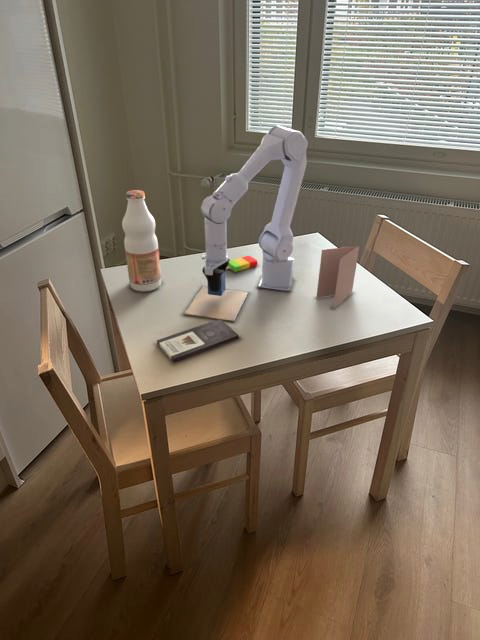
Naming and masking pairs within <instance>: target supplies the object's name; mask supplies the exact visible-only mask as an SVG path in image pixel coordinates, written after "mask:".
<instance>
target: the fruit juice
mask: <svg viewBox="0 0 480 640" xmlns="http://www.w3.org/2000/svg"><path fill="white" fill-rule="evenodd" d="M125 195H126V196H125V198H126V200H127V206H126V211H125V214H124V216H123V218H122V221H121V226H122V231H123V232H124V234H125V235H124V238H123V239H124V240H123V245H124V251H125V258H126V266H127V267H126V268H127V274H128V282H129V286H130V287H131V289H133V290H135V291H137V292H151V291H154V290H156V289H158V288H159V287H160V286H161V285H162V273H161V272H162V271H161V263H160V262H161V261H160V251H159V241H158V237H157V235H156V220H155V217H154V216H153V215H152V213H151V212H150V211H149V209H148V206H147V205H146V201H145V199H146V194H145V192H144V190H141V189H134V190H133V189H132V190H128V191H126V193H125Z"/></svg>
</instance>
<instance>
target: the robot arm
mask: <svg viewBox="0 0 480 640" xmlns="http://www.w3.org/2000/svg"><path fill="white" fill-rule="evenodd" d="M308 146H309V141H308V140H307V138H306V137H305V135H304V134H303V133H302V132H301V131H299V130H294V129H290V128H287V127H284V126H282V125H274V126H272V127H270V129H269V130H268V132H267V133H266V134H265V135H263V137H262V139H261V143H260V144H259V146H258V147H257V148H256V150H255V151H254V152H253V153H252V155H251V156H250V157H249V159H248V160H247V161H246V162H245V164H244V165H243V166H242V168H241V169H240V170H239V171H238V172H232V173H231V174H230V175H226V176H225V177H224V181H223V183H221V185H220V186H219V187H218V188H217V189H216V190H214V191H213V192H212V195H209V196H207V197H205V198H204V199H203V201H202V203H201V206H200V207H199V209H200V213H201V214H202V215H203V217H204V246H205V253H204V254H203V255H201V259H202V260H204V262H205V265H204V266H203V267H202V268H201V269H202V274H203V276H204V277H205V279H206V280H207V281H206V282H207V285H208V284H209V287H210V290H211V291H215V292H218V290H219V285H220V278H221V275H222V273H223V271H225V273H226V271H227V269H226V268H227V266H228V264H229V262H230V260H231V259H230V258H228V247H227V245H228V242H227V241H228V239H227V238H228V237H227V234H228V233H227V227H228V226H227V220H228V219H229V218H230V217H231V215H232V209H233V208H234V206H235V205H236V203H238V201H239V200H240V199H241V198H242V197H243V196H244V195H245V193H246V192H247V191H248V190H249V183H250V181H251V180H252V179H253V178H254V177H256V175H258V173H259V172H260V171H261V170H262V169H264V167H265V166H267V164H269V162H271V161H277V160H281V162H282V164H283V165H284V169H283V172H282V177H281V181H280V185H279V189H278V193H277V197H276V201H275V204H274V208H273V213H272V217H271V221H270V222H268V223H267V224H266V225H265V226H264V229H263V231H262V233H261V234H260V236H259V238H258V246H259V248H260V249H261V251H262V253H261V254H262V263H261V264H262V265H261V278H260V280H259V283H258V285H257V287H258V288H259V289H260V288H261V289H269V290H278V291H283V292H289V291H291V289H292V288H291V287H292V285H293V282H294V272H295V258H293V257H291V255H292V254H293V251H294V245H293V242H294V239H295V238H294V234H293V231H292V229H291V223H292V220H293V217H294V212H295V210H296V205H297V201H298V198H299V194H300V191H301V187H302V182H303V180H304V175H305V172H306V168H307V165H308V161H307V160H308V159H307V158H308V157H307V149H308Z"/></svg>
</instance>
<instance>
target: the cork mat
mask: <svg viewBox="0 0 480 640" xmlns="http://www.w3.org/2000/svg"><path fill="white" fill-rule="evenodd" d="M248 295H249V292H247V291H242V290H241V291H240V290H233V289H232V290H231V289H226V288H225V291H224V293H223V294H222V296H217V295H209V294H208V286H202V287H201V289H200V290H199V291H198V293H197V294H196V295H195V296H194V298H193V300H192V301H191V303H190V304H189V306H188V307H187V309H186V310H185V311H184V313H183V314H184V315H185V316H192V317H199V318H206V319H213V320H218V319H221V320H222V321H225V322H235V321H236V319H237V317H238V315H239V313H240V311H241V309H242V307H243V305H244V304H245V300H246V299H247V297H248ZM184 315H183V316H184Z"/></svg>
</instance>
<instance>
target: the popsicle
mask: <svg viewBox="0 0 480 640" xmlns="http://www.w3.org/2000/svg"><path fill="white" fill-rule="evenodd" d="M257 266H258V260H257V259H256V258H254V257H253V256H251V255H245V256H242V257H238V258H235V259H230V262H229V264H228V266H227V268H226V270H229V269H230V270H231V271H233V272H235V273H237V272H241V271H244V270H248V269H251V268H254V267H257Z"/></svg>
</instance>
